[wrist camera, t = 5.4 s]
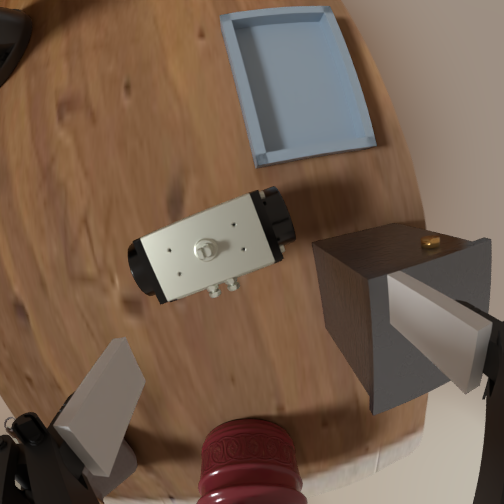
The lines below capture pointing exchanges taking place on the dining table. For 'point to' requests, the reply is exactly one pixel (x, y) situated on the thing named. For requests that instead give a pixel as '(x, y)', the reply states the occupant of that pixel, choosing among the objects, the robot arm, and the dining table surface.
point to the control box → (377, 301)
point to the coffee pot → (120, 470)
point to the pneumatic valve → (212, 247)
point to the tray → (295, 84)
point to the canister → (249, 465)
